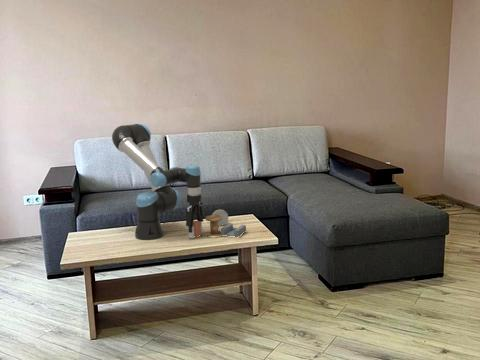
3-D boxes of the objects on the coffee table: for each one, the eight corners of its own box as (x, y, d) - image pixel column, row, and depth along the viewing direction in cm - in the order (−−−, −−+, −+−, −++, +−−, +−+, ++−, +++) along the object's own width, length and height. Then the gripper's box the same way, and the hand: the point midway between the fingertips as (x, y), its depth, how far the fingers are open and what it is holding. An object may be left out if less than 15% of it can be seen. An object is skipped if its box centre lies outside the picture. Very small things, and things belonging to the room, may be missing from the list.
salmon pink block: (190, 236, 269) (189, 222, 267) (194, 234, 273) (193, 220, 271) (197, 237, 267) (196, 223, 266) (200, 235, 271) (199, 221, 269)
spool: (203, 236, 269) (202, 218, 267) (210, 231, 277) (210, 214, 275) (218, 238, 265) (217, 220, 263) (225, 233, 273) (225, 215, 271)
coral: (211, 216, 283) (210, 205, 291) (213, 230, 289) (213, 219, 297) (227, 214, 283) (227, 203, 291) (229, 228, 289) (229, 217, 297)
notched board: (220, 236, 269) (220, 228, 268) (229, 230, 279) (229, 223, 278) (237, 238, 265) (237, 230, 264) (246, 232, 275) (245, 225, 274)
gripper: (190, 199, 255) (192, 242, 259) (209, 190, 273) (210, 230, 278) (177, 198, 258) (179, 240, 262) (197, 190, 276) (198, 229, 281)
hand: (195, 235), depth 270 cm, fingers open, 8 cm apart
